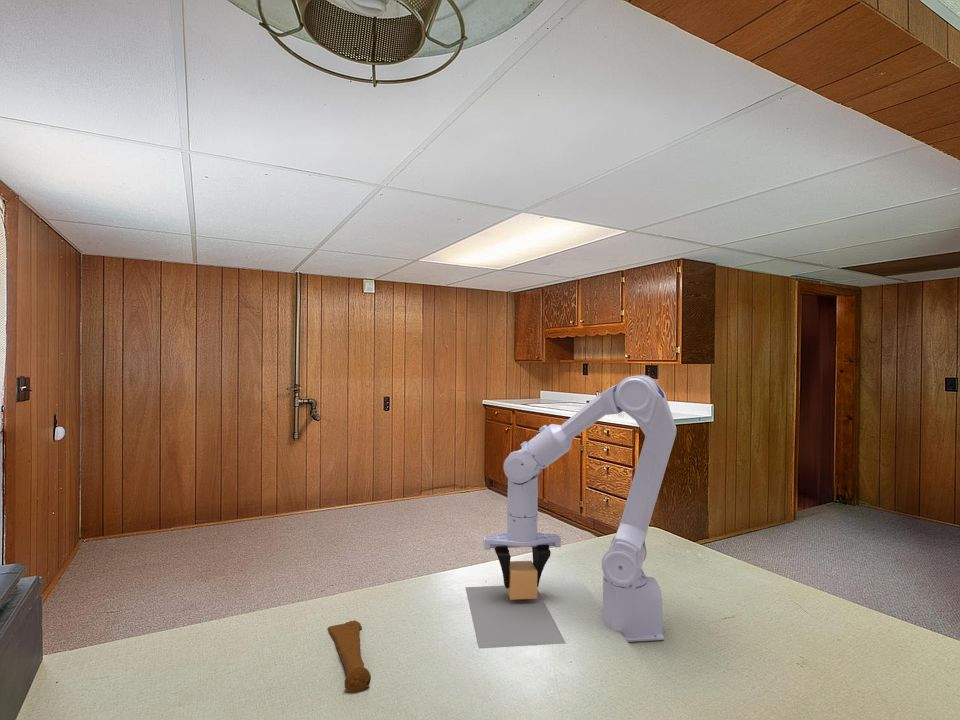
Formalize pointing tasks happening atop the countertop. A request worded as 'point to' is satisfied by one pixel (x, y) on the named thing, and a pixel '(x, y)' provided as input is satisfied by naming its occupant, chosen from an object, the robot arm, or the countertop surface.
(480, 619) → the board
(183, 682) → the countertop surface
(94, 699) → the countertop surface
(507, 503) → the robot arm
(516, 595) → the wooden cube
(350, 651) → the primitive tool
